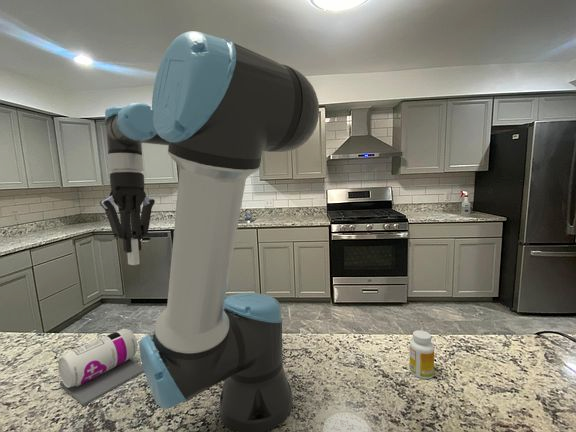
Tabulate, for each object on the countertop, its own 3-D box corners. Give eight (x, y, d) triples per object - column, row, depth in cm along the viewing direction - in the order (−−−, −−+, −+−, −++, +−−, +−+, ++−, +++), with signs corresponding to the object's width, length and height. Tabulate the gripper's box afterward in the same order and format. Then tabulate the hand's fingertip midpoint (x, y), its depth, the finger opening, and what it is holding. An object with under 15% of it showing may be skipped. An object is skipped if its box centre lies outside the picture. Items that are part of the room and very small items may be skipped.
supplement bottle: (436, 371, 67) (437, 333, 67) (430, 383, 63) (430, 342, 63) (413, 362, 71) (414, 326, 70) (406, 373, 67) (406, 334, 66)
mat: (146, 370, 71) (146, 368, 71) (82, 406, 59) (82, 404, 59) (121, 355, 78) (120, 353, 78) (59, 384, 66) (59, 382, 66)
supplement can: (141, 341, 73) (75, 373, 60) (134, 362, 76) (69, 397, 63) (125, 321, 77) (59, 347, 64) (119, 342, 79) (55, 371, 66)
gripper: (143, 174, 77) (149, 257, 79) (90, 172, 66) (98, 268, 68) (159, 172, 73) (165, 260, 75) (106, 169, 62) (115, 272, 64)
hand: (133, 264), depth 71 cm, fingers closed
